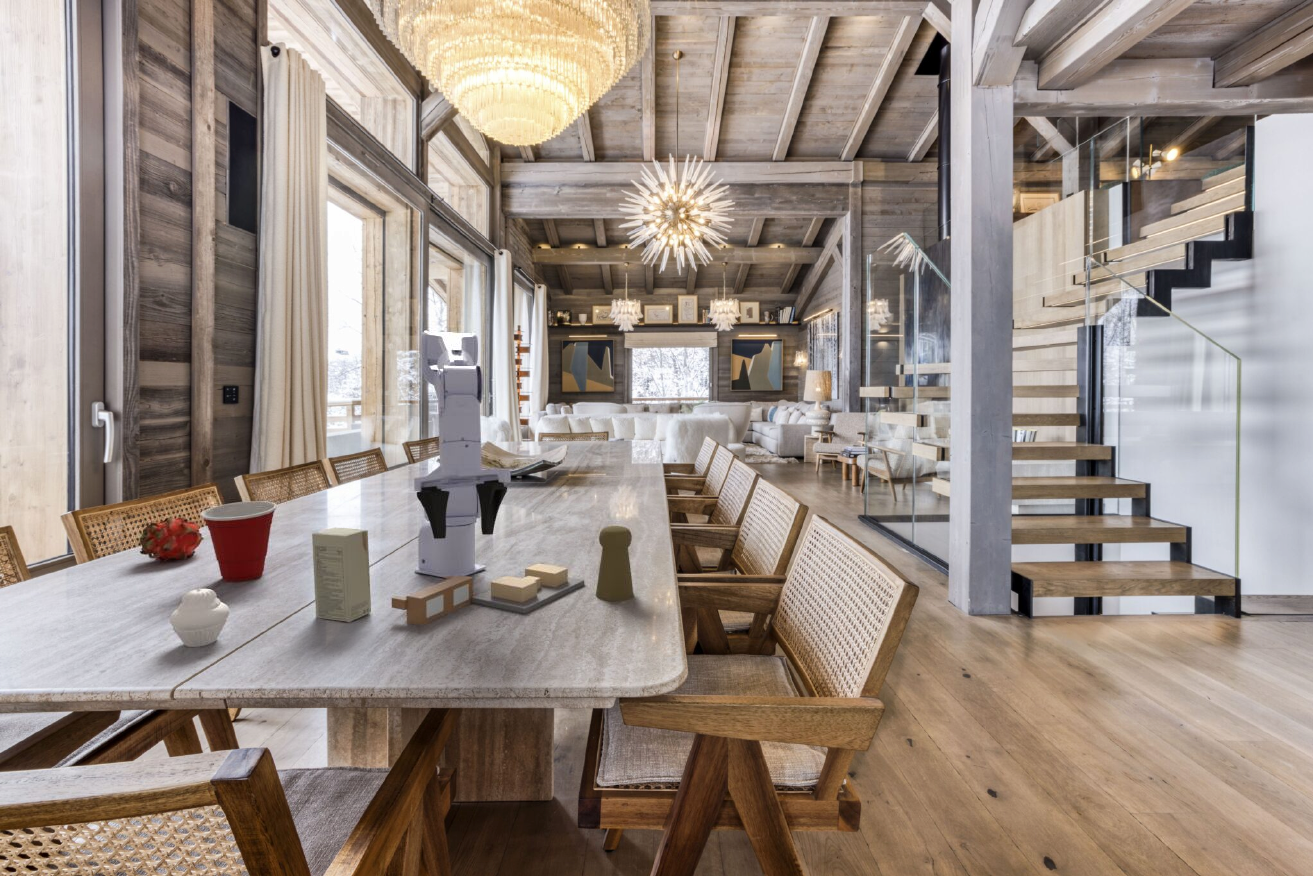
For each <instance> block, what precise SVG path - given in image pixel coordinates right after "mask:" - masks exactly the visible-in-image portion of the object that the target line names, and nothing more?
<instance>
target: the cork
mask: <svg viewBox="0 0 1313 876" xmlns="http://www.w3.org/2000/svg"><path fill="white" fill-rule="evenodd" d="M632 537H633V535H632V532H631V530H630V529H629V528H628V527H625V526H620V525H610V526H605V527H604V528H602V529H601V531H600V532H599V536H598V540H599V541H598V542H599V544H600V546H601V548H602V549H601V555H600V562H599V570H598V577H597V583H596V589H595V590H596V591H595V597H596V598H597V599H600V600H603V601H608V602H620V601H627V600H629V599H632V598H633V597H634V587H633V579H632V571H631V570H632V569H631V562H630V552H629V547H630V546H631V544H632V541H633V538H632Z"/></svg>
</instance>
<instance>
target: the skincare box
mask: <svg viewBox="0 0 1313 876" xmlns="http://www.w3.org/2000/svg"><path fill="white" fill-rule="evenodd" d="M368 532H369V530H367V529H359V528H357V529H356V528H347V527H346V528H345V527H332V528H327V529H324V530H320V531H316V532H312V533H311V537H312V538H311V539H312V541H311V542H312V556H313V557H312V558H313V559H312V561H313V563H312V564H313V575H314V576H313V577H314V578H313V579H314V581H313V582H314V584H313V585H314V599H315V600H314V601H315V603H314V605H315V617H316V618H319V619H324V620H325V619H327V620H333V621H339V622H340V621H341V622H346V623H347V622H348V623H350V622H352V621H354V620H357V619H359V618H361V617H364V616H366V615H368V614H370V613H372V607H371V606H372V601H371V599H372V597H371V582H370V581H371V578H370V577H371V576H370V575H371V574H370V556H369V555H370V554H369V551H370V550H369V533H368Z"/></svg>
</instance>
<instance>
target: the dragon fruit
mask: <svg viewBox="0 0 1313 876" xmlns="http://www.w3.org/2000/svg"><path fill="white" fill-rule="evenodd" d="M202 540H205V538H204V537H203V534H202V533H201V532H200V526H199V524H198V523H197V521H188V519H187V518H186V517H184V516H179V517H177V518H175V519H173V518H170V517H166V518H165V519H163V520H160V521H159V522H158V521H153V522H150V523H149V524H148V525H147V526H145V528H143V530H142V533H141V535H140V537H139V544H140V545H141V548H140V550H139V552H140V554H141V555H146V556H148V557H149V559H155V560H156V561H158V562H160V563H166V562H167V561H168V560H169V559H176V560H179V559H182V560H185V559H186V558H188V557H193V556H194V555H195V553H196V549H197V548H198V547H199V546H200V545H201V542H202Z"/></svg>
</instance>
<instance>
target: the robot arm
mask: <svg viewBox="0 0 1313 876" xmlns="http://www.w3.org/2000/svg"><path fill="white" fill-rule="evenodd" d="M420 350H421V363H422V365H421V367H422V375H423V379H424V381H425V382H427V383H429V384H431V385H432V386H433V388H434V391H435V394H436V398H437V411H438V414H437V415H438V417H437V418H438V440H439V441H438V443H439V444H438V445H439V446H438V447H439V448H438V449H439V466H438V467H437V468H435V469H433V470H432V471H431V472H430V473H429V474H427V475H426V476H425V475H424V476H420V477H419V476H418V477H414V478H413V479H414V480H413V484H414V486H413V487H414V488H413V489H414V492H416V498H417V499H418V501H419V502H420V504H421V506H422V507H423V516H424V517H423V518H424V519H425V520H426V522H424V523H423V524H422V526H421V527H420V529H419V533H418V539H417V541H418V542H417V545H418V547H417V548H418V550H417V551H418V567H417V568H415V569H414V572H415V573H419V574H424V575H430V576H434V577H438V578H439V577H441V578H445V577H447V576H454V577H456V576H458V575H461V576H469V575H472V574H475V573H477V572H480V571H483V570H486V568H487V566H486V565H483V564H477V563H476V523H478V522H477V520H478V519H480V528H481V535H483V536H484V535H485V536H486V535H488V536H489V535H493V534H494V532H495V531H494V530H495V529H494V528H495V524H496V519H497V515H498V514H499V513H498V512H499V509H500V506H501V505H502V502H503V500H504V499H505V498H504V497H505V496H506V494H507V492H508V487H507V486H505V484H509V483H510V484H511V482H512V481H511V480H512V479H511V477H512V476H511V469H508V468H504V467H503V468H494V469H483V464H482V462H483V461H482V459H483V458H482V434H481V432H482V431H481V429H482V428H481V404H482V401H483V395H484V375H483V370H482V366H481V365H477V364H478V360H479V359H478V357H479V340H478V336H477V335H476V334H475V333H474V332H471V333H465V332H464V333H460V332H439V331H428V330H423V332H422V333H421V349H420Z"/></svg>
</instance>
